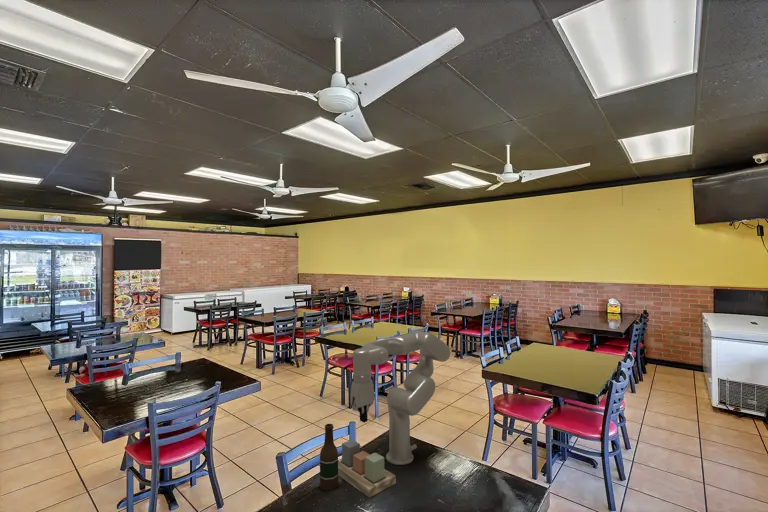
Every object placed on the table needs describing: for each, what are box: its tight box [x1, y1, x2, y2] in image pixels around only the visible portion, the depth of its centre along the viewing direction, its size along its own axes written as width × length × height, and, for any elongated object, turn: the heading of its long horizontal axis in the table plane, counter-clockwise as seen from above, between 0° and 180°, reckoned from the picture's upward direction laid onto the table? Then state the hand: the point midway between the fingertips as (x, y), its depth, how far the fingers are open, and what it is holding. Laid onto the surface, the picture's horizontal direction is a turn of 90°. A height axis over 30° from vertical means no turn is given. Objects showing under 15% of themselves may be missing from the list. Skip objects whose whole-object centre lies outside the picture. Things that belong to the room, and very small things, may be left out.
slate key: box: [341, 439, 361, 468], centre depth 158 cm, size 6×6×8 cm
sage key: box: [365, 452, 385, 484], centre depth 146 cm, size 6×6×8 cm
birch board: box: [338, 458, 397, 498], centre depth 152 cm, size 14×26×3 cm, turn 42°
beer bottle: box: [319, 423, 339, 492], centre depth 146 cm, size 8×8×24 cm
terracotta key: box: [352, 450, 371, 476], centre depth 152 cm, size 6×6×8 cm
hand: (363, 421), depth 155 cm, fingers closed
